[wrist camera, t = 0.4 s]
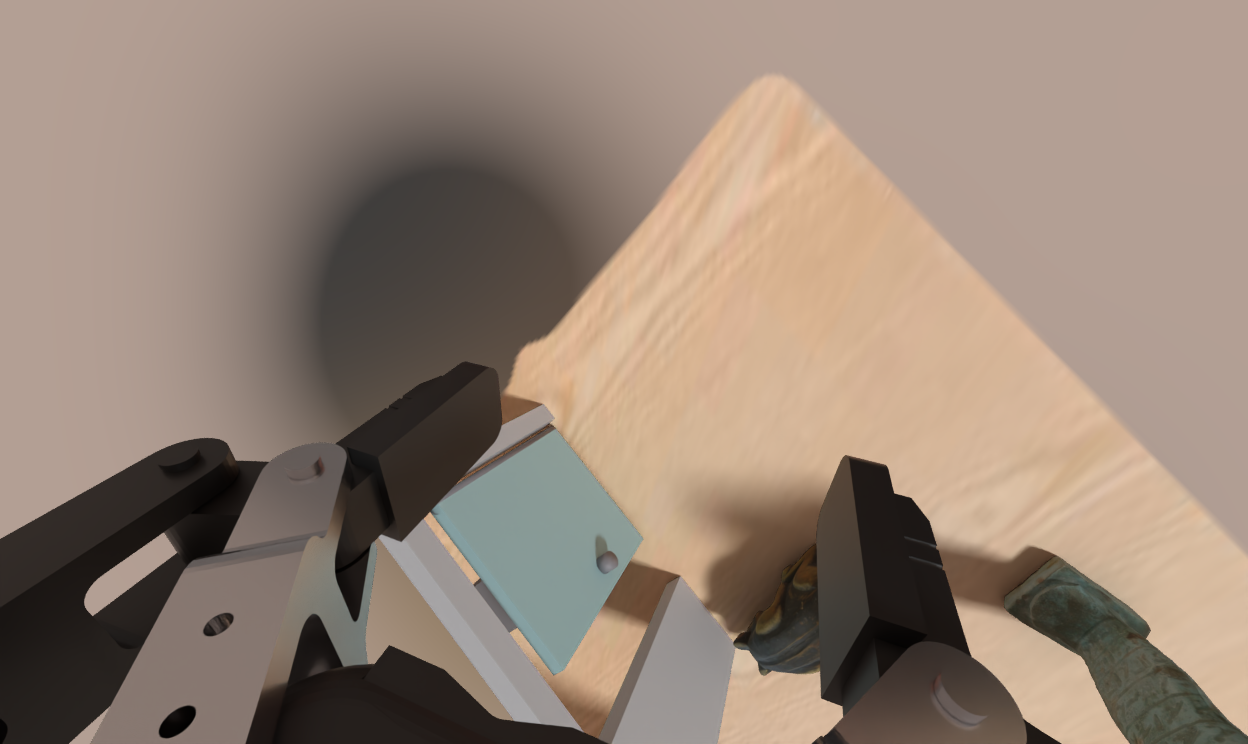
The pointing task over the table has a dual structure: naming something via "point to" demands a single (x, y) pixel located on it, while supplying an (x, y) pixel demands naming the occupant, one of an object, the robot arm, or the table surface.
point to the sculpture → (788, 623)
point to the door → (541, 541)
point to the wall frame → (639, 719)
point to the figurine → (1120, 659)
